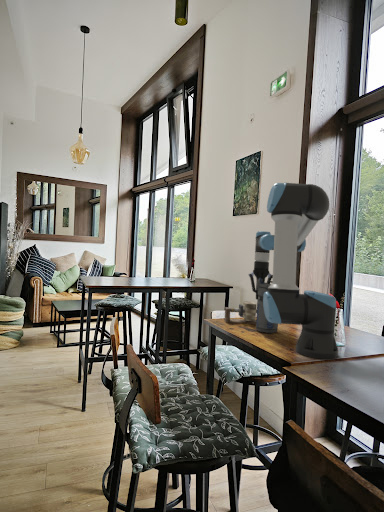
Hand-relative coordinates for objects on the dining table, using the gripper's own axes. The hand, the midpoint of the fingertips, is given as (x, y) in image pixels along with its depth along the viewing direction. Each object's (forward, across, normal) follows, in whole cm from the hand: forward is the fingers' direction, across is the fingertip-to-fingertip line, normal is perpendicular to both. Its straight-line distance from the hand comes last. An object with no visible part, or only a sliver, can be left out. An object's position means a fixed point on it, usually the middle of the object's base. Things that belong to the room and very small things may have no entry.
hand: (259, 305), depth 180 cm
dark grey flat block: (+6, +10, 0) cm, 11 cm away
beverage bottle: (+9, -1, +18) cm, 20 cm away
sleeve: (+7, +5, 0) cm, 9 cm away
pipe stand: (+9, +6, 0) cm, 11 cm away
